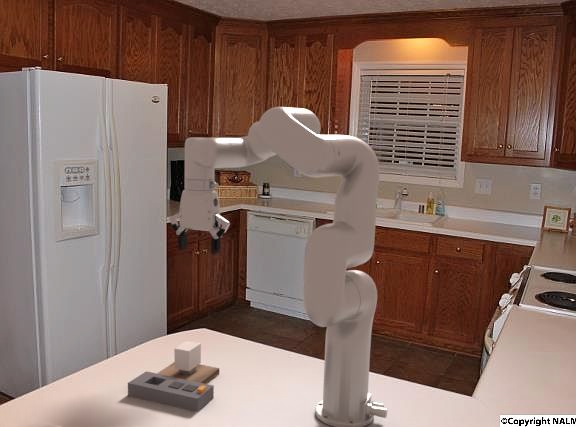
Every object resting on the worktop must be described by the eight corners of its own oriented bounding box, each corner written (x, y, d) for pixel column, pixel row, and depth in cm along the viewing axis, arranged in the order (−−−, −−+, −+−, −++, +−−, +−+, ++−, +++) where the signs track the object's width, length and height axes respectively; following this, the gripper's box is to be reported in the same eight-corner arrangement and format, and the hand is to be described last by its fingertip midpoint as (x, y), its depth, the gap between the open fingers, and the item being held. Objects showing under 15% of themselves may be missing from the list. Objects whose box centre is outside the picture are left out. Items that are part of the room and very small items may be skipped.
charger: (200, 368, 141) (200, 343, 140) (189, 377, 136) (189, 351, 135) (186, 365, 143) (186, 340, 142) (174, 374, 138) (174, 348, 137)
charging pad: (219, 374, 142) (219, 368, 142) (198, 390, 133) (198, 384, 133) (177, 365, 147) (177, 359, 146) (154, 380, 137) (154, 374, 137)
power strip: (213, 398, 129) (213, 382, 129) (197, 411, 123) (197, 395, 122) (146, 383, 136) (146, 368, 135) (127, 395, 129) (127, 379, 129)
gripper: (236, 186, 148) (235, 252, 150) (178, 182, 154) (178, 245, 157) (222, 189, 141) (221, 257, 143) (162, 185, 147) (162, 250, 150)
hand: (198, 251), depth 150 cm, fingers open, 9 cm apart
